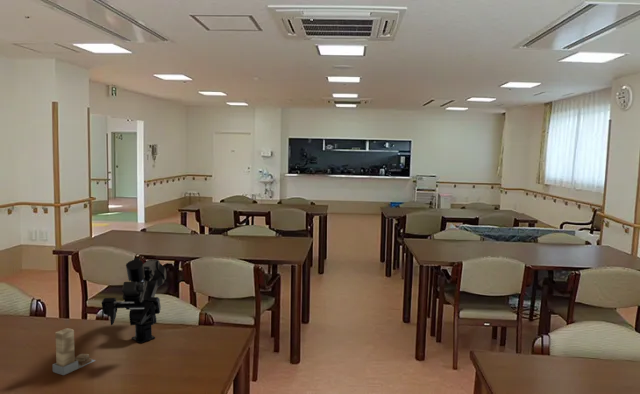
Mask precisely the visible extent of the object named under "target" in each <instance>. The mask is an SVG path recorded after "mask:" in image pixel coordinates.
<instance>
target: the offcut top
mask: <svg viewBox="0 0 640 394" xmlns="http://www.w3.org/2000/svg"><path fill="white" fill-rule="evenodd" d="M89 357H90V354H89V353H80V354H78V355H77V356H75V359H76V361H85V360H86V359H88V358H89Z"/></svg>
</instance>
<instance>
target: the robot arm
mask: <svg viewBox="0 0 640 394" xmlns="http://www.w3.org/2000/svg"><path fill="white" fill-rule="evenodd" d="M125 268H126V275H127V278H128V279H127V280H128V281H124V282H123V285H122V288H121V292H122V293H123V294H122V300H124V301H122V300H121V301H117V298H116V297H104V298H102V300H101V306H102V312H103V314H104V315H105V316H107V317H109V320H110V325H111V326H113V325H114V323H115V320H116V318H117V313H118V309H125V310H129V313H128V316H129V317H128V318H129V324H130V326H134V330H135V331H134V332H135V333H134V334H135V335H134V336H132V337H131V340H133V341H134V342H135V341H136V342H137V343H139V344H142V343H145V342H149V341H151V340H155V339H156V336H154V335H153V333H152V331H153V329H152V326H154V325H155V324H157V315H159V314H160V312H161V307H162V306H161V299H160V298H159V296H156V294H157V290H158V288H159V287H161V286H162V285H163V284H164V283H165V280H167V269H166V267H165V266H164V265H163V264H161V263H160V260H159V259H146V261H145V262H143V261H142V260H141V257H135V258H133V259H132V260H130V261H128V262H127V263H126V264H125Z"/></svg>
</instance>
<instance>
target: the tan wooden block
mask: <svg viewBox="0 0 640 394" xmlns="http://www.w3.org/2000/svg"><path fill="white" fill-rule="evenodd" d="M54 334H55V355H56V356H55V360H56V362H55V363H57V365H58V366H62V367H64V366H66V365H68V364H70V363H73V362H75V357H76V356H75V354H76V353H75V330H74V329H72V328H68V327H66V328H63V329H61V330H58V331H55V333H54Z"/></svg>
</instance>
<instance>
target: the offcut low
mask: <svg viewBox="0 0 640 394" xmlns="http://www.w3.org/2000/svg"><path fill="white" fill-rule="evenodd" d="M92 359H93V358H92V357H90V356H89V358H88V359H86V360H85V361H78V365H81V366H83V365H85V364H87V363H89V364H91V363H90V362H92ZM75 361H76V359H75ZM92 363H93V362H92ZM87 365H88V364H87ZM85 366H86V365H85ZM83 367H84V366H83Z"/></svg>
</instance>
